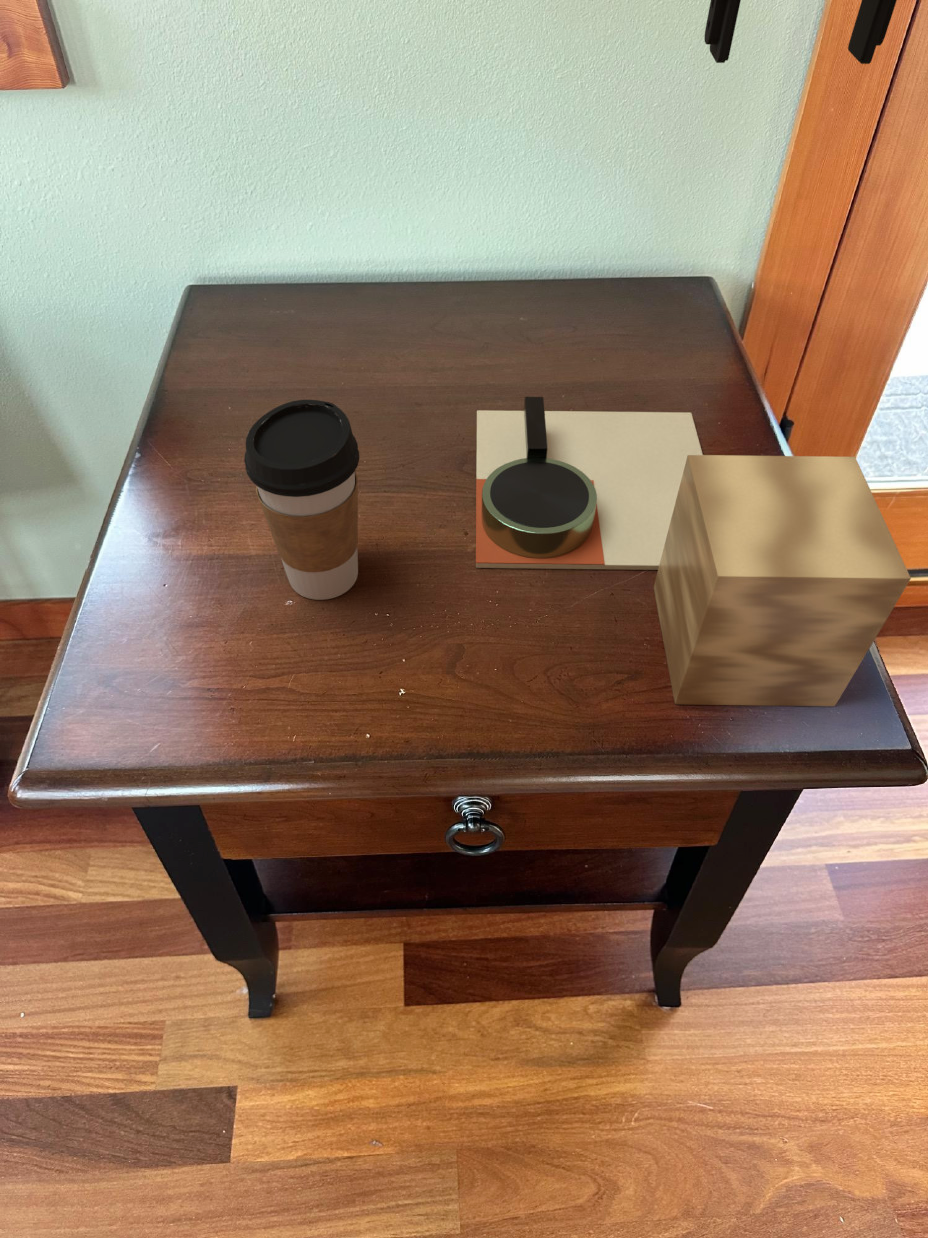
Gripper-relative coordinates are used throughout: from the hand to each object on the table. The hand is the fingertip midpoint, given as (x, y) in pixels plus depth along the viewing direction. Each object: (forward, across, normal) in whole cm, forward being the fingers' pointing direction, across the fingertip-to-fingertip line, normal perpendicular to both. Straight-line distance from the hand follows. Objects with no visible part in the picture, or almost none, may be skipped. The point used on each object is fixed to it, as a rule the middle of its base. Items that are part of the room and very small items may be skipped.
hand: (788, 56), depth 57 cm
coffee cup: (+34, -34, -18) cm, 51 cm away
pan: (+33, -16, -7) cm, 37 cm away
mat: (+33, -10, -6) cm, 35 cm away
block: (+33, 0, -25) cm, 42 cm away
